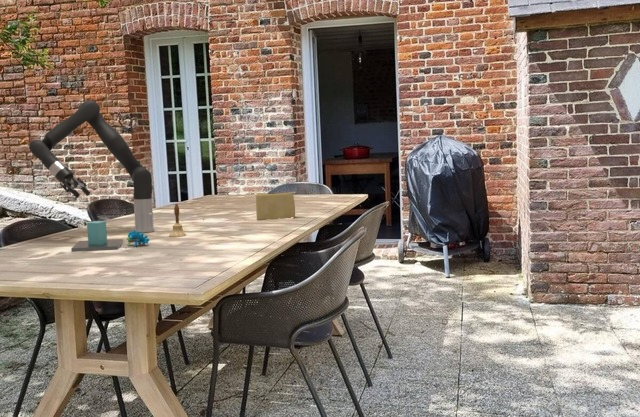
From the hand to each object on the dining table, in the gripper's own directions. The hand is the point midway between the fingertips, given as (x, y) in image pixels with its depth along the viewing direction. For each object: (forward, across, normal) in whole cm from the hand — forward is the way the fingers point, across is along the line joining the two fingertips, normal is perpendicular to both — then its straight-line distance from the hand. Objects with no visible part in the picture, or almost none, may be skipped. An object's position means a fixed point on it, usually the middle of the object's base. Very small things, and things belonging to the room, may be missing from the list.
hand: (83, 195), depth 338 cm
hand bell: (+43, +22, -10) cm, 49 cm away
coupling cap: (+25, -14, +5) cm, 29 cm away
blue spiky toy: (+39, -8, -6) cm, 40 cm away
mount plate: (+26, -14, +6) cm, 30 cm away
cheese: (+65, +86, -30) cm, 112 cm away
